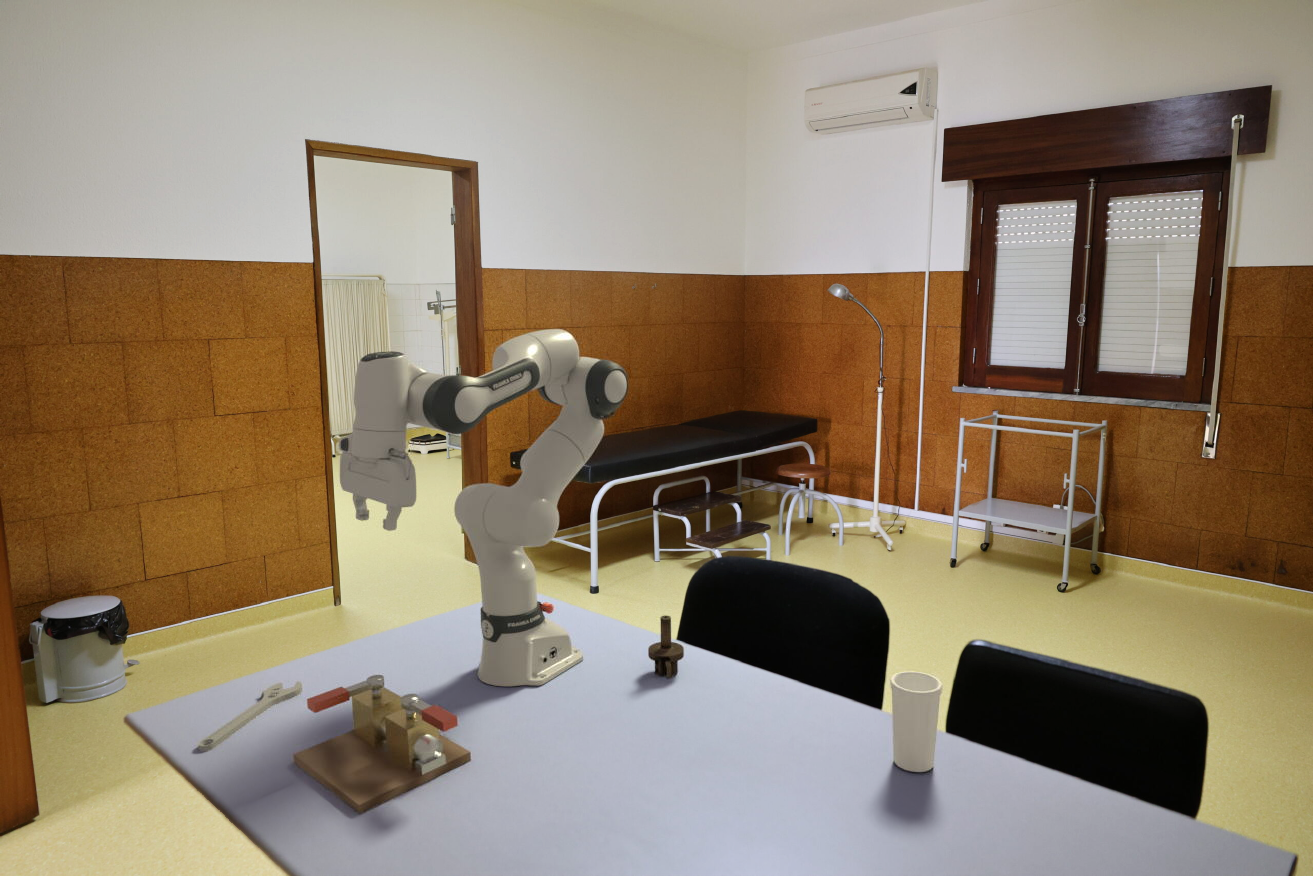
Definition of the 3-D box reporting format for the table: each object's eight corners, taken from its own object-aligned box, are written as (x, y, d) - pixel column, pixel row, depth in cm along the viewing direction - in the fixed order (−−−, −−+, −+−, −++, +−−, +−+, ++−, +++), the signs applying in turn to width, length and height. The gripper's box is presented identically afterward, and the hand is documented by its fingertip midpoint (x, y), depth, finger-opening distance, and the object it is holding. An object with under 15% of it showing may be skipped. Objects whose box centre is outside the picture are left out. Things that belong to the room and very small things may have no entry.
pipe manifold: (379, 719, 155) (375, 664, 153) (468, 774, 136) (465, 712, 134) (350, 731, 150) (345, 675, 149) (438, 789, 132) (434, 726, 130)
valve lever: (379, 681, 150) (378, 672, 149) (387, 686, 148) (386, 677, 148) (307, 708, 140) (306, 699, 140) (315, 713, 138) (314, 704, 138)
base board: (400, 718, 158) (400, 711, 158) (470, 760, 143) (470, 752, 143) (294, 762, 143) (293, 754, 143) (360, 814, 129) (359, 805, 128)
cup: (939, 755, 142) (943, 674, 140) (939, 781, 134) (942, 696, 132) (889, 747, 145) (891, 668, 142) (885, 773, 137) (888, 689, 135)
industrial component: (678, 683, 170) (677, 626, 168) (643, 679, 172) (642, 622, 170) (690, 663, 179) (689, 609, 177) (657, 660, 181) (656, 606, 179)
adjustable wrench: (208, 755, 147) (207, 746, 147) (179, 750, 149) (178, 740, 149) (308, 690, 171) (307, 682, 170) (281, 687, 173) (280, 678, 172)
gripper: (427, 452, 142) (424, 534, 144) (367, 438, 156) (364, 513, 158) (393, 453, 138) (389, 538, 139) (334, 439, 152) (331, 516, 153)
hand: (375, 524), depth 148 cm, fingers open, 8 cm apart
